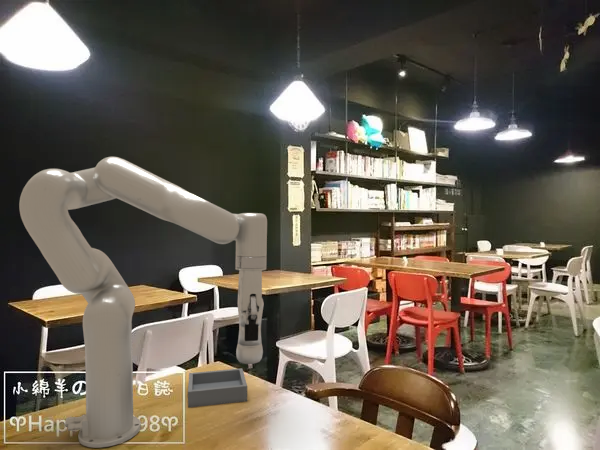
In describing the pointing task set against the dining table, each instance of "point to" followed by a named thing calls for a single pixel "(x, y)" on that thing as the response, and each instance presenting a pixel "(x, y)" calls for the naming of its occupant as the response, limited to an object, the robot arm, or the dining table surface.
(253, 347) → the plastic bottle
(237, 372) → the grey bin
